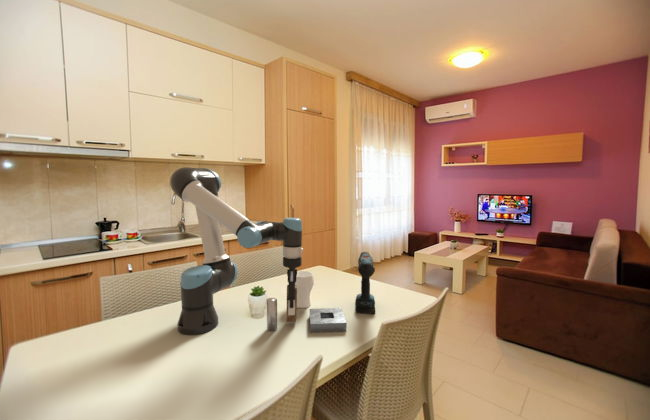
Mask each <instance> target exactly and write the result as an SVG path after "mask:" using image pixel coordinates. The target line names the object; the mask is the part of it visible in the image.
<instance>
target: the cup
mask: <svg viewBox="0 0 650 420" xmlns="http://www.w3.org/2000/svg"><path fill="white" fill-rule="evenodd" d="M314 281H315V280H314V274H313V273H312V272H311V271H308V270H307V271H304V270H301V271H297V276H296V282H295V285H297V308H298V309H306V308H309V307H311V297H310V296H311V291H312V290H313V287H314Z"/></svg>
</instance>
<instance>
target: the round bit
mask: <svg viewBox="0 0 650 420" xmlns="http://www.w3.org/2000/svg"><path fill="white" fill-rule="evenodd" d="M266 330H267V332H271V333H272V332H275V331H277V330H278V298H277V297H269V298H267V299H266Z"/></svg>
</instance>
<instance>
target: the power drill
mask: <svg viewBox="0 0 650 420" xmlns="http://www.w3.org/2000/svg"><path fill="white" fill-rule="evenodd" d="M357 262H358V266H357V269H358V271H357V272H358V274H359V275H360V276H361V280H360V281H361V282H360V284H361V286H360V292H361V293H358V294H356V296H355V313H356V314H361V315H362V314H365V315H375V314H376V301H375V296H374V295H373V294H371V282H370V278H371V277H372V276H373V275H374V273H375V272H376V271H375V270H376V268H375V267H374V259H373V257H372V256H371V255H370V253H369V252H368V251H362V252H361V253H360V255H359V258H358V260H357Z"/></svg>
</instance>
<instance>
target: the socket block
mask: <svg viewBox="0 0 650 420" xmlns="http://www.w3.org/2000/svg"><path fill="white" fill-rule="evenodd" d="M345 316H346V315H345V313H344V311H343V307H329V308H327V307H326V308H309V328H310V333H311V334H313V333H314V334H315V333H316V334H317V333H335V332H336V333H337V332H343V333H344V332H347V330H348V329H347V320H346V317H345Z"/></svg>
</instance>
